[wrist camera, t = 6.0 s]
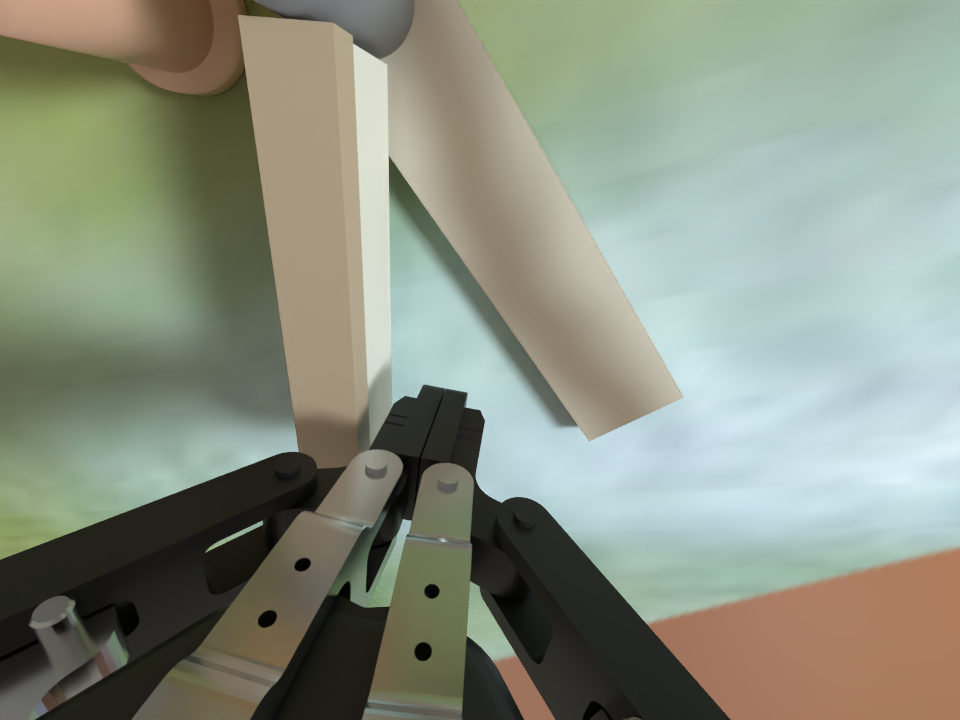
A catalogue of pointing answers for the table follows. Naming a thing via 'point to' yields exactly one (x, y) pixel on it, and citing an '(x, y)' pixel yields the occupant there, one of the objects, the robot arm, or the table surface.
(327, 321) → the beige wooden bar
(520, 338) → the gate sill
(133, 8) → the peach rounded knob
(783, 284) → the table surface
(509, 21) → the table surface
